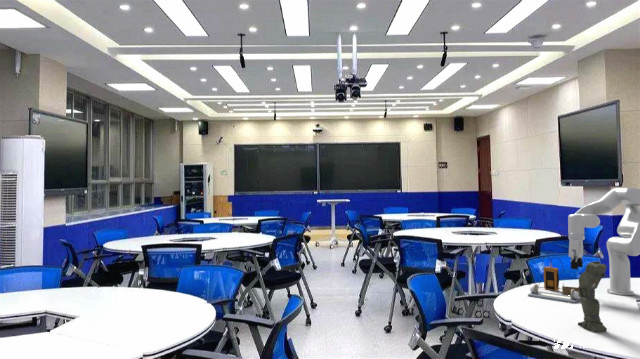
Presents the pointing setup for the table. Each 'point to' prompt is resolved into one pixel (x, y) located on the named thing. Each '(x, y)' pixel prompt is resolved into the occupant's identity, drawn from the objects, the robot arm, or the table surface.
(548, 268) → the multimeter
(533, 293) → the pipe run
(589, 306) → the mechanical leg
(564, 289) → the wood plank
